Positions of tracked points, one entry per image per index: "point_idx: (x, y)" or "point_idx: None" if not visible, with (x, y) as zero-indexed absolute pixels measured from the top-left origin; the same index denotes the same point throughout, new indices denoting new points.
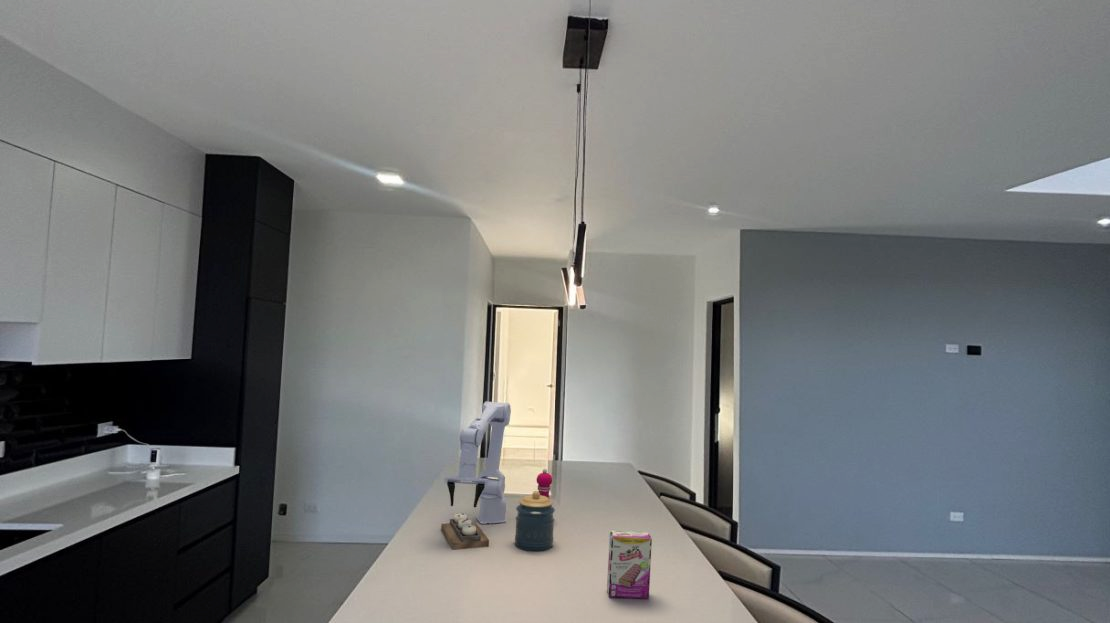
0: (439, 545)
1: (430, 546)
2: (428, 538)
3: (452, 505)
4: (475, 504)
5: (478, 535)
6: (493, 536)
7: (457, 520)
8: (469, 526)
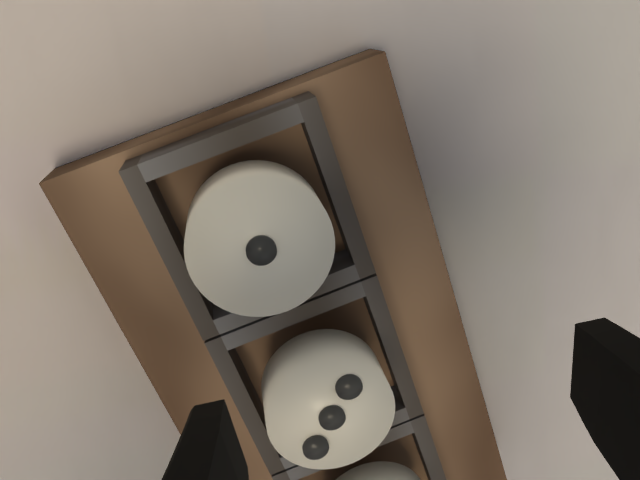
0: (483, 137)
1: (551, 106)
2: (568, 274)
3: (591, 325)
4: (203, 430)
5: (146, 177)
6: (69, 400)
7: (401, 476)
8: (260, 250)
